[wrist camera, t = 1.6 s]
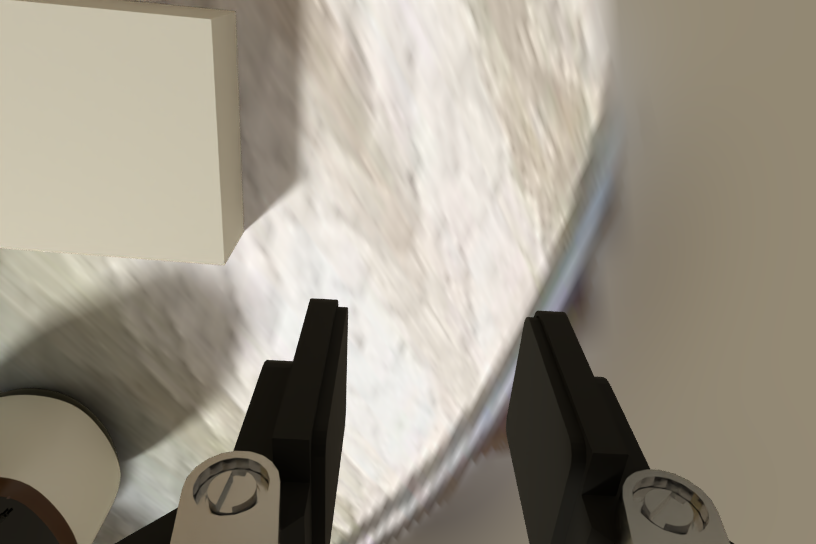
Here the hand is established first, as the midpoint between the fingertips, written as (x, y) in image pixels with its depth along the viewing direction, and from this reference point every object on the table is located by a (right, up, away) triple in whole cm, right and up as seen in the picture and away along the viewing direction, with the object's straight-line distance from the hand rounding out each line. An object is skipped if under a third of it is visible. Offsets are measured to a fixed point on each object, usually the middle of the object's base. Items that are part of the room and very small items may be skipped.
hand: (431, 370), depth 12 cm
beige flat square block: (-13, +9, +15) cm, 22 cm away
